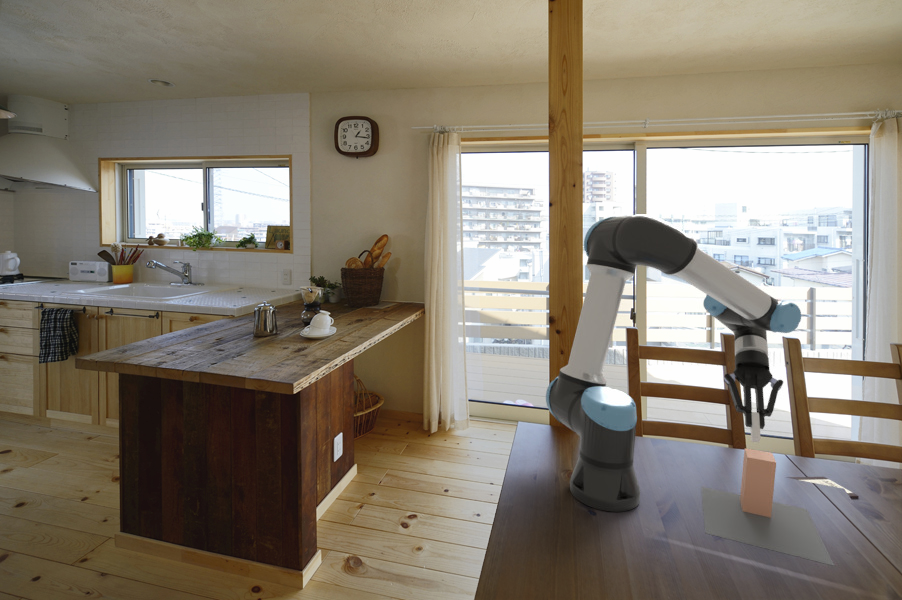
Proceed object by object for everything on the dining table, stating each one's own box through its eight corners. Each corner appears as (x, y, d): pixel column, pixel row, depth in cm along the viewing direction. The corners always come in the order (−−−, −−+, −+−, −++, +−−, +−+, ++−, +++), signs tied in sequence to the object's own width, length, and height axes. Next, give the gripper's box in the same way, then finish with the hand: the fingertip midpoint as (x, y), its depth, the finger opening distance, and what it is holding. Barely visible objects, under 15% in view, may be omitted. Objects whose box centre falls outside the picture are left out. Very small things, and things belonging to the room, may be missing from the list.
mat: (704, 535, 90) (705, 532, 90) (701, 488, 107) (701, 486, 107) (834, 568, 81) (834, 565, 81) (806, 511, 98) (806, 509, 98)
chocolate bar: (754, 477, 112) (824, 476, 113) (754, 481, 112) (823, 480, 113) (783, 497, 103) (858, 496, 104) (783, 501, 103) (858, 499, 104)
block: (742, 511, 97) (747, 457, 96) (740, 499, 102) (744, 448, 100) (770, 517, 95) (776, 462, 94) (766, 505, 100) (772, 453, 98)
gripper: (777, 367, 122) (785, 451, 109) (721, 361, 127) (722, 440, 114) (784, 351, 116) (792, 438, 103) (724, 346, 122) (726, 427, 109)
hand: (755, 439), depth 109 cm, fingers closed
